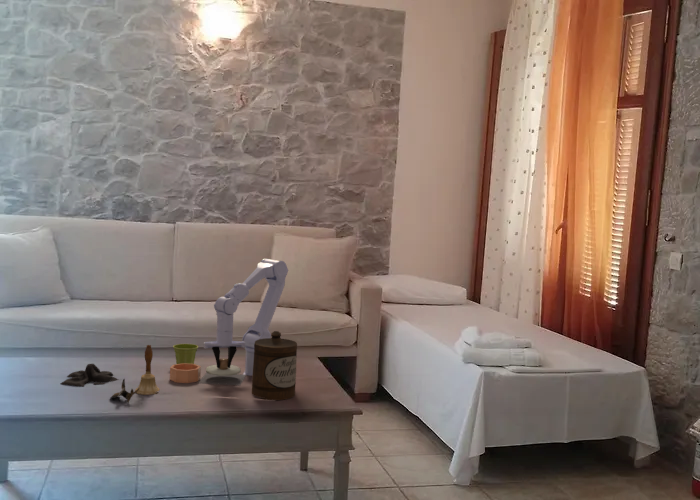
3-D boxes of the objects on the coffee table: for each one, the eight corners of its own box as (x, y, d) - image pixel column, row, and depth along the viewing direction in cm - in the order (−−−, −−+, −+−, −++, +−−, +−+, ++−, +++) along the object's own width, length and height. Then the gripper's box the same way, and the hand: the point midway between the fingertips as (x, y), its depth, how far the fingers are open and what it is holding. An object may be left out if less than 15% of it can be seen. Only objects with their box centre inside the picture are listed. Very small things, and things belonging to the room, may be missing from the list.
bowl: (201, 377, 273) (202, 364, 273) (196, 385, 263) (196, 371, 263) (174, 376, 273) (175, 362, 273) (167, 383, 263) (168, 369, 263)
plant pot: (170, 366, 287) (170, 344, 286) (194, 364, 291) (195, 343, 290) (175, 372, 279) (175, 349, 278) (200, 370, 283) (200, 348, 282)
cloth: (59, 389, 251) (60, 371, 250) (60, 375, 268) (61, 358, 268) (128, 386, 259) (129, 369, 258) (125, 373, 276) (125, 356, 275)
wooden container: (272, 403, 246) (275, 337, 245) (242, 393, 256) (245, 330, 254) (303, 395, 258) (307, 332, 256) (274, 386, 267) (277, 325, 265)
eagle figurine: (144, 396, 242) (128, 385, 248) (136, 381, 238) (120, 371, 243) (125, 412, 238) (109, 401, 244) (116, 397, 234) (101, 386, 239)
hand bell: (162, 393, 250) (164, 347, 249) (137, 395, 247) (138, 348, 245) (157, 387, 258) (158, 341, 256) (132, 389, 254) (133, 342, 253)
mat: (246, 376, 278) (246, 374, 278) (240, 387, 263) (240, 385, 263) (206, 374, 278) (206, 372, 278) (197, 384, 264) (197, 383, 263)
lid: (242, 368, 277) (243, 356, 276) (237, 376, 265) (238, 364, 264) (209, 366, 277) (210, 354, 277) (202, 374, 265) (203, 362, 264)
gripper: (243, 327, 275) (241, 364, 277) (203, 328, 271) (202, 364, 272) (246, 331, 269) (244, 368, 270) (205, 332, 264) (204, 369, 266)
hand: (223, 367), depth 271 cm, fingers closed on lid, 3 cm apart
